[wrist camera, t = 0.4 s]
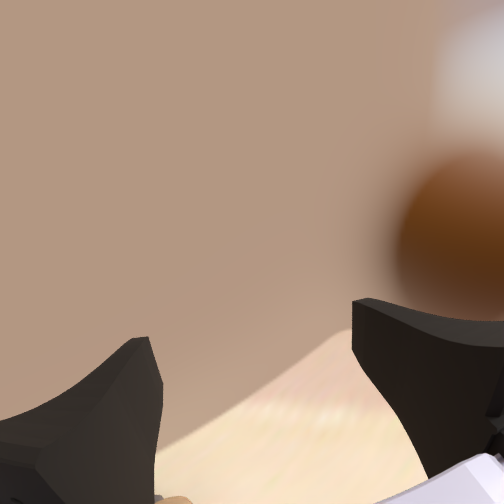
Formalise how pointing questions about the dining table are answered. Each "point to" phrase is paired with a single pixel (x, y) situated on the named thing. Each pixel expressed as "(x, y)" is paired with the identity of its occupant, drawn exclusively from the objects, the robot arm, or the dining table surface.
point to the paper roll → (171, 500)
